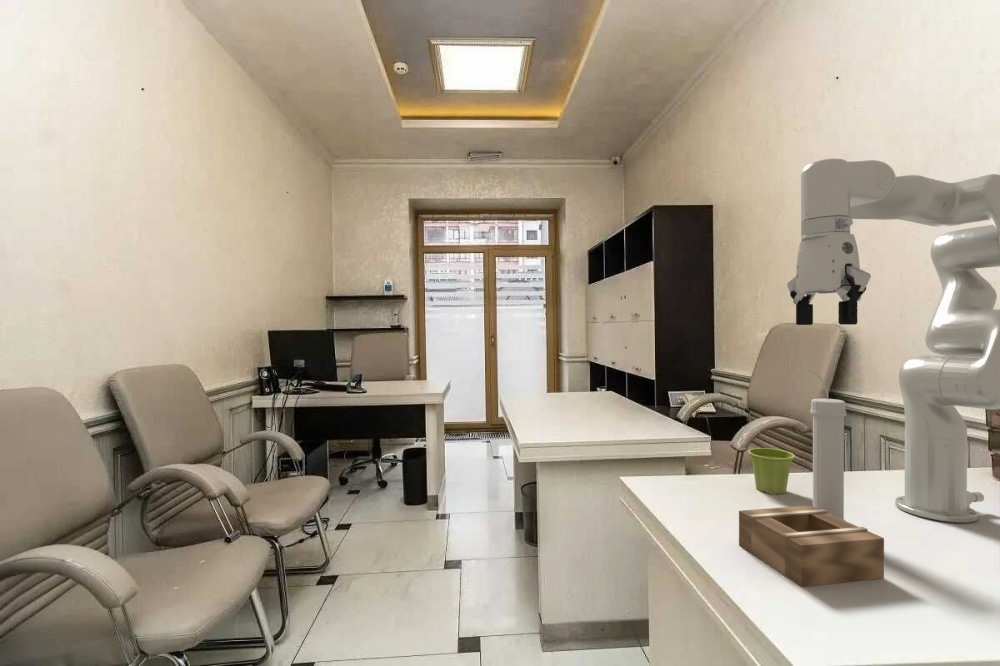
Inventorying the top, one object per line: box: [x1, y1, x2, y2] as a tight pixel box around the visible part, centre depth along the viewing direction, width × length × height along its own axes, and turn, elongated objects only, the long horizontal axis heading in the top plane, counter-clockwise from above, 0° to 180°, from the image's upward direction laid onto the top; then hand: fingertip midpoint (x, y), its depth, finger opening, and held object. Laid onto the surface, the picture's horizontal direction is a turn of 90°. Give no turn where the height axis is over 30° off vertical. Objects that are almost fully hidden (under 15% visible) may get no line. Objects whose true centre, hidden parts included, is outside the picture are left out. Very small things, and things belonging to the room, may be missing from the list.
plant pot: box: [747, 447, 795, 495], centre depth 115 cm, size 9×9×9 cm
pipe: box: [806, 368, 848, 521], centre depth 91 cm, size 6×6×30 cm
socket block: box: [738, 505, 885, 588], centre depth 80 cm, size 14×14×6 cm
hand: (825, 324), depth 91 cm, fingers open, 9 cm apart
